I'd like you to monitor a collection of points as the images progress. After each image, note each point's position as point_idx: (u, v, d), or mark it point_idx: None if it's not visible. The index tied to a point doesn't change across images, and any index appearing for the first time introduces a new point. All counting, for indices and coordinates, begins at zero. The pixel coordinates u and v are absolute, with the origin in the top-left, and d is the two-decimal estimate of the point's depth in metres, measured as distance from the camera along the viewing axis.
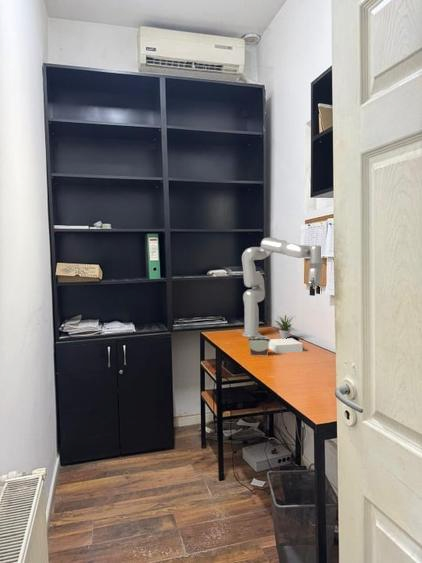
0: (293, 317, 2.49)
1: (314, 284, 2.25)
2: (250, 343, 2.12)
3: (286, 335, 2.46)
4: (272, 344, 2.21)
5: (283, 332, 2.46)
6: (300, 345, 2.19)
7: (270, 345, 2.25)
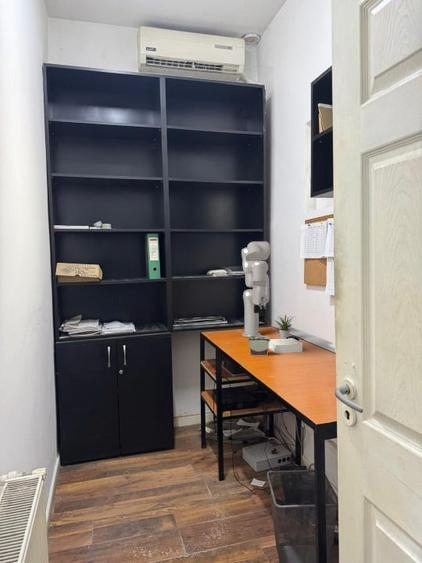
0: (293, 317, 2.49)
1: None
2: (250, 343, 2.12)
3: (286, 335, 2.46)
4: (272, 344, 2.22)
5: (283, 332, 2.46)
6: (300, 345, 2.18)
7: (270, 344, 2.25)
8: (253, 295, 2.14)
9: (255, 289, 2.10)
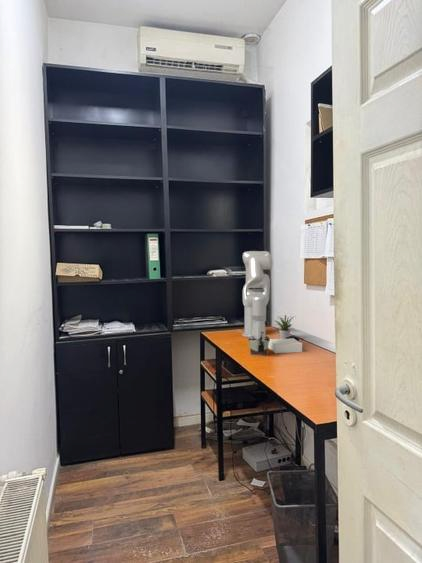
0: (293, 317, 2.49)
1: None
2: (250, 343, 2.12)
3: (286, 335, 2.46)
4: (272, 344, 2.22)
5: (283, 332, 2.46)
6: (300, 345, 2.18)
7: (270, 344, 2.26)
8: (253, 329, 2.15)
9: (255, 324, 2.12)
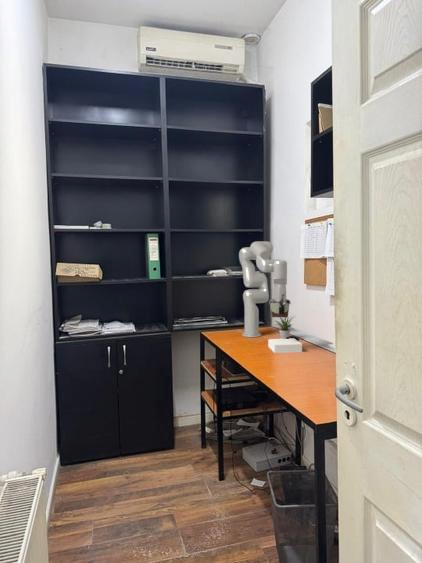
0: (293, 317, 2.49)
1: None
2: (271, 305, 2.18)
3: (286, 335, 2.46)
4: (271, 344, 2.22)
5: (283, 332, 2.46)
6: (299, 345, 2.18)
7: (270, 344, 2.26)
8: (273, 292, 2.21)
9: (276, 287, 2.18)
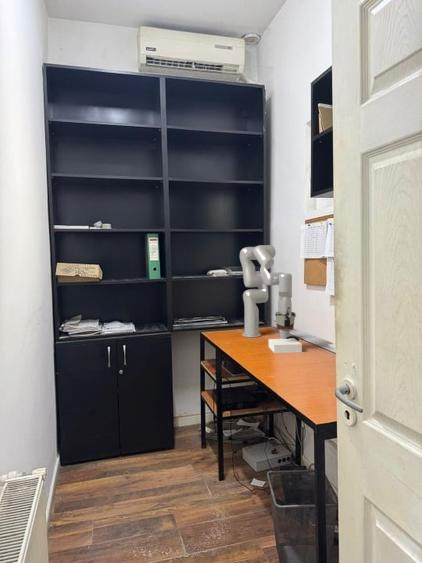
0: None
1: None
2: (276, 318, 2.21)
3: (286, 335, 2.46)
4: (271, 344, 2.23)
5: (283, 332, 2.46)
6: (299, 345, 2.18)
7: (270, 344, 2.26)
8: (279, 305, 2.24)
9: (281, 300, 2.20)
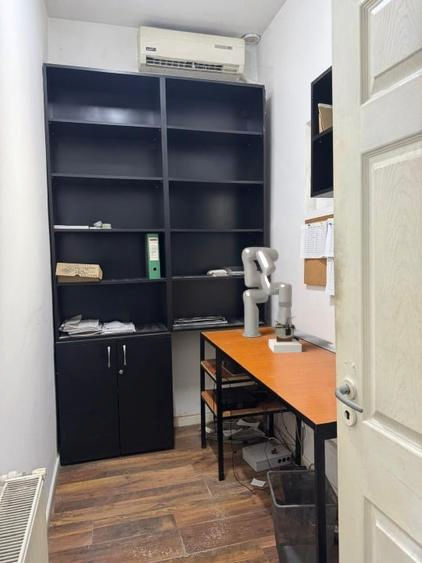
0: (293, 317, 2.49)
1: None
2: (276, 331, 2.22)
3: None
4: (271, 344, 2.23)
5: None
6: (299, 346, 2.17)
7: (270, 344, 2.26)
8: (278, 315, 2.24)
9: (281, 310, 2.21)
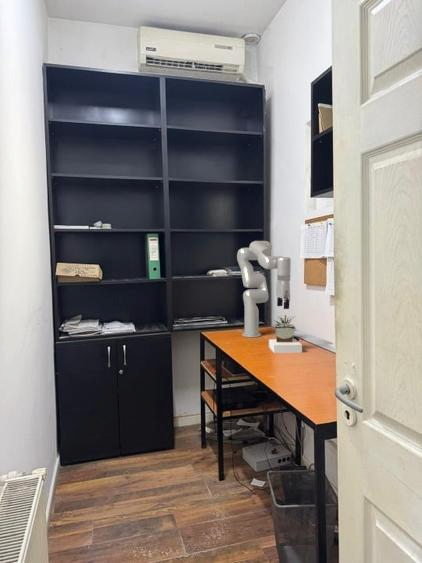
0: (293, 317, 2.49)
1: None
2: (276, 331, 2.22)
3: None
4: (271, 344, 2.22)
5: None
6: (299, 346, 2.17)
7: (270, 344, 2.26)
8: (277, 289, 2.24)
9: (279, 283, 2.21)
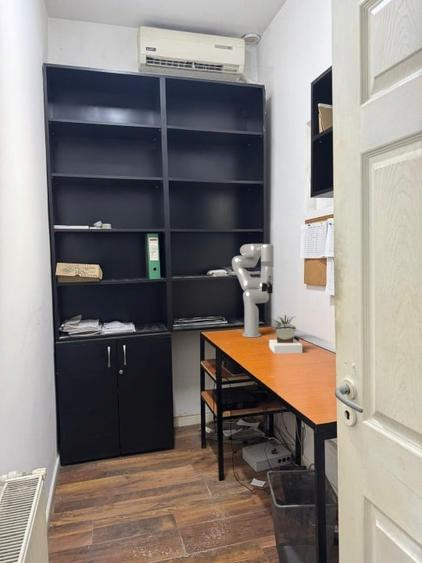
0: (293, 317, 2.49)
1: None
2: (277, 331, 2.20)
3: None
4: (272, 344, 2.21)
5: None
6: (299, 346, 2.16)
7: (270, 345, 2.25)
8: (261, 275, 2.35)
9: (263, 269, 2.31)
